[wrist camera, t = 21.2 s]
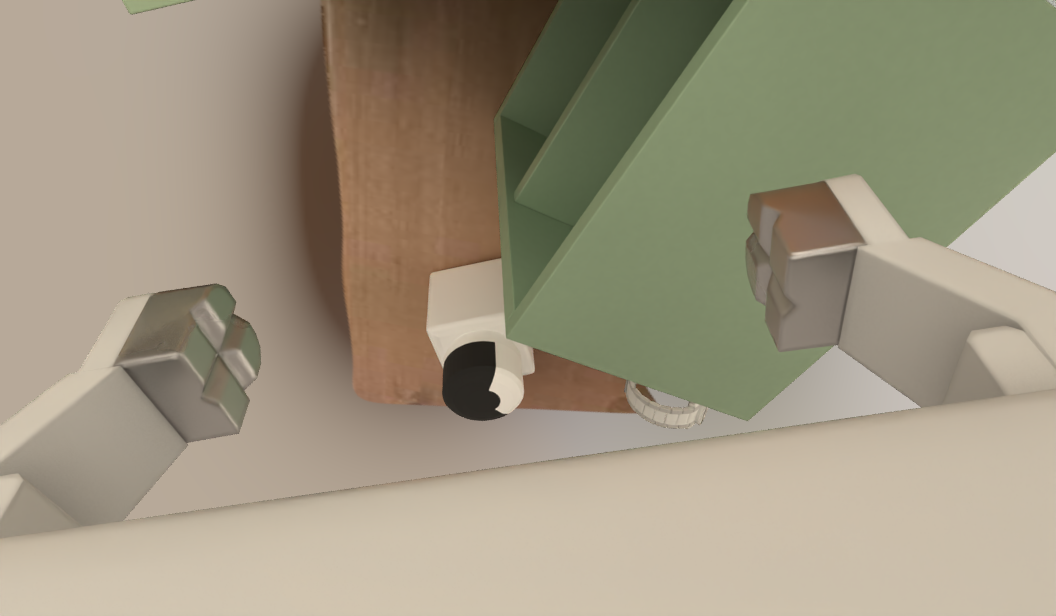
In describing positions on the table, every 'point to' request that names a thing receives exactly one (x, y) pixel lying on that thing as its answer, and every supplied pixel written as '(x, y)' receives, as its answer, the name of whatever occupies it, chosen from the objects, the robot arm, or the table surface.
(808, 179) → the cupboard
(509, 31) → the table surface
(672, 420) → the watch
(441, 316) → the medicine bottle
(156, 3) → the cupboard door
